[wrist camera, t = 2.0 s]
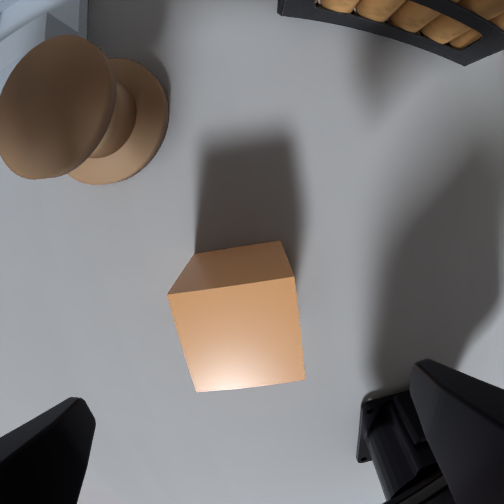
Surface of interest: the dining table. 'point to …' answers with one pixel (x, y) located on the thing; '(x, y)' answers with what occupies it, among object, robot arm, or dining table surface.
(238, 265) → the block
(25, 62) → the wooden knob
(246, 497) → the dining table surface
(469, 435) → the robot arm
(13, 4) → the notched board
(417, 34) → the ammunition clip
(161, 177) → the dining table surface
